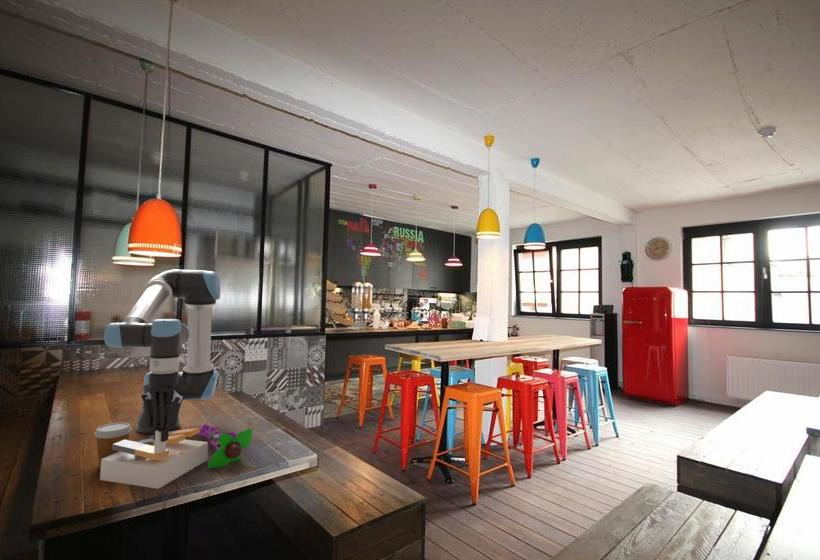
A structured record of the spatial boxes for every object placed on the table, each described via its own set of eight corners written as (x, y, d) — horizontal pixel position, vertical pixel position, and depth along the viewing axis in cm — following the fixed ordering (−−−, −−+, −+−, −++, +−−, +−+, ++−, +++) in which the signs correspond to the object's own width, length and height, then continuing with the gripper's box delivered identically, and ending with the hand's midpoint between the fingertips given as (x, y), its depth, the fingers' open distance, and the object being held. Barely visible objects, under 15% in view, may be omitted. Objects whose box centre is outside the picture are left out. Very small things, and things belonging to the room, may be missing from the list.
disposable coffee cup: (105, 458, 131) (108, 421, 132) (136, 458, 132) (138, 422, 133) (84, 471, 122) (87, 431, 122) (117, 471, 123) (119, 432, 123)
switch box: (100, 479, 117) (101, 454, 117) (155, 453, 137) (157, 431, 137) (158, 488, 113) (159, 462, 113) (207, 460, 133) (208, 437, 133)
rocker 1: (112, 449, 118) (112, 444, 118) (124, 444, 122) (124, 439, 122) (157, 460, 115) (158, 454, 115) (168, 454, 119) (169, 449, 119)
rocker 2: (149, 442, 131) (148, 437, 131) (159, 437, 135) (158, 433, 135) (191, 436, 128) (190, 431, 128) (200, 432, 132) (199, 427, 132)
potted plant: (222, 485, 124) (191, 458, 150) (267, 447, 135) (230, 427, 160) (201, 455, 121) (173, 432, 147) (249, 418, 132) (215, 403, 157)
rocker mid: (131, 449, 125) (131, 444, 125) (142, 444, 129) (142, 439, 129) (175, 443, 122) (174, 438, 122) (185, 439, 126) (184, 434, 126)
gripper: (134, 372, 116) (130, 454, 115) (173, 375, 113) (169, 459, 112) (155, 367, 123) (151, 445, 122) (192, 370, 121) (188, 449, 120)
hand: (160, 452), depth 117 cm, fingers closed
